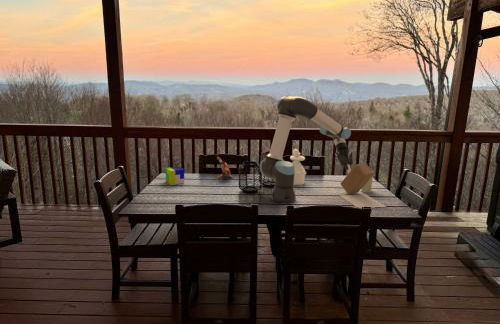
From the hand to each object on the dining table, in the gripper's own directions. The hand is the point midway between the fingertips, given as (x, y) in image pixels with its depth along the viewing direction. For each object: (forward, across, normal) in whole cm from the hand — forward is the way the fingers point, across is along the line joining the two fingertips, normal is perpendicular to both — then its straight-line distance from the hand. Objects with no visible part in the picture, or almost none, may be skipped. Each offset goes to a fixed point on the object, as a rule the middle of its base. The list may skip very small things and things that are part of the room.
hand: (350, 173), depth 222 cm
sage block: (+9, -14, -10) cm, 19 cm away
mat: (+22, +1, +4) cm, 23 cm away
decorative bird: (-24, +78, -43) cm, 92 cm away
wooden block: (+8, +1, -7) cm, 10 cm away
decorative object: (-9, +28, -28) cm, 41 cm away
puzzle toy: (-18, +115, -37) cm, 122 cm away
